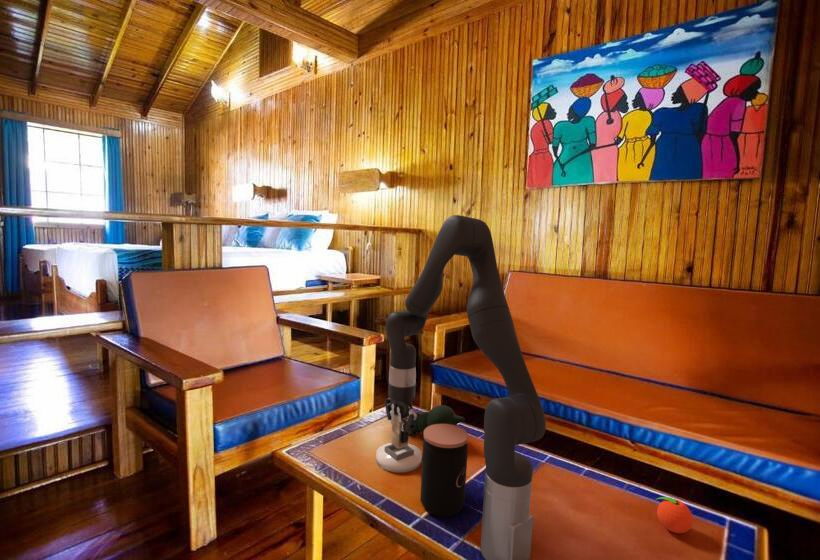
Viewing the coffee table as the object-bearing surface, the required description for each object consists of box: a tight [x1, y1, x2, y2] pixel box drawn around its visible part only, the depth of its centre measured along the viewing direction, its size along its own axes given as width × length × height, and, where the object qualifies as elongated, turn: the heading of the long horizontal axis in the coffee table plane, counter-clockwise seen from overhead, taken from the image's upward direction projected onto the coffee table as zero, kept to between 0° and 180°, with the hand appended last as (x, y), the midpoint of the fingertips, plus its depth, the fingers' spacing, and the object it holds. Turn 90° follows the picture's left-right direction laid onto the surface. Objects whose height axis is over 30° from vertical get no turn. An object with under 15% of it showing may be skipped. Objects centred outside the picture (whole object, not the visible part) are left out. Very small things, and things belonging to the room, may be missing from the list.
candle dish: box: [375, 442, 423, 474], centre depth 124 cm, size 13×13×4 cm
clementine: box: [655, 496, 694, 534], centre depth 99 cm, size 8×7×7 cm
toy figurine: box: [409, 383, 466, 439], centre depth 138 cm, size 9×19×25 cm
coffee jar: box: [419, 424, 469, 518], centre depth 104 cm, size 11×11×18 cm
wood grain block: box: [390, 414, 409, 449], centre depth 123 cm, size 3×3×9 cm
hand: (399, 439), depth 123 cm, fingers closed on wood grain block, 3 cm apart
